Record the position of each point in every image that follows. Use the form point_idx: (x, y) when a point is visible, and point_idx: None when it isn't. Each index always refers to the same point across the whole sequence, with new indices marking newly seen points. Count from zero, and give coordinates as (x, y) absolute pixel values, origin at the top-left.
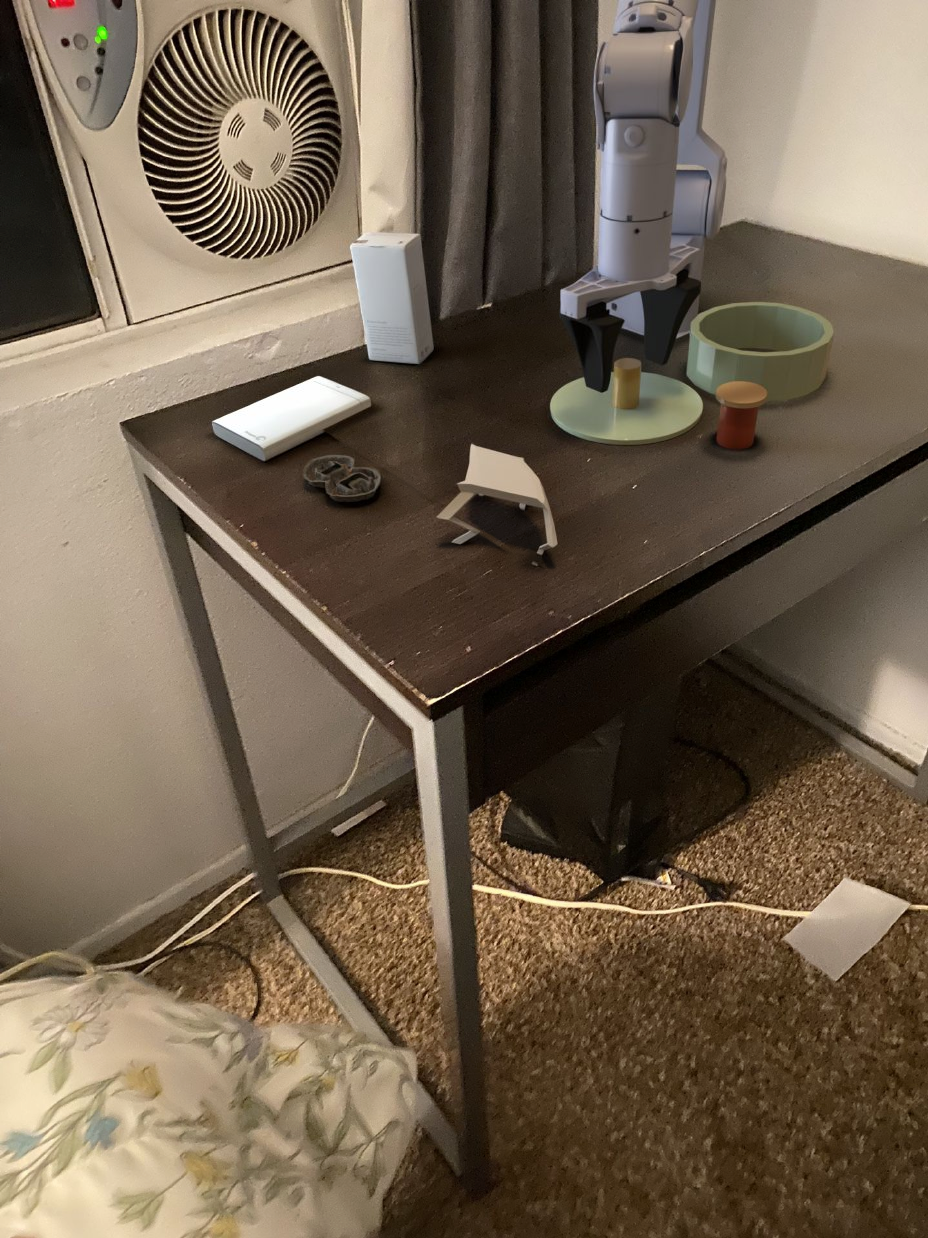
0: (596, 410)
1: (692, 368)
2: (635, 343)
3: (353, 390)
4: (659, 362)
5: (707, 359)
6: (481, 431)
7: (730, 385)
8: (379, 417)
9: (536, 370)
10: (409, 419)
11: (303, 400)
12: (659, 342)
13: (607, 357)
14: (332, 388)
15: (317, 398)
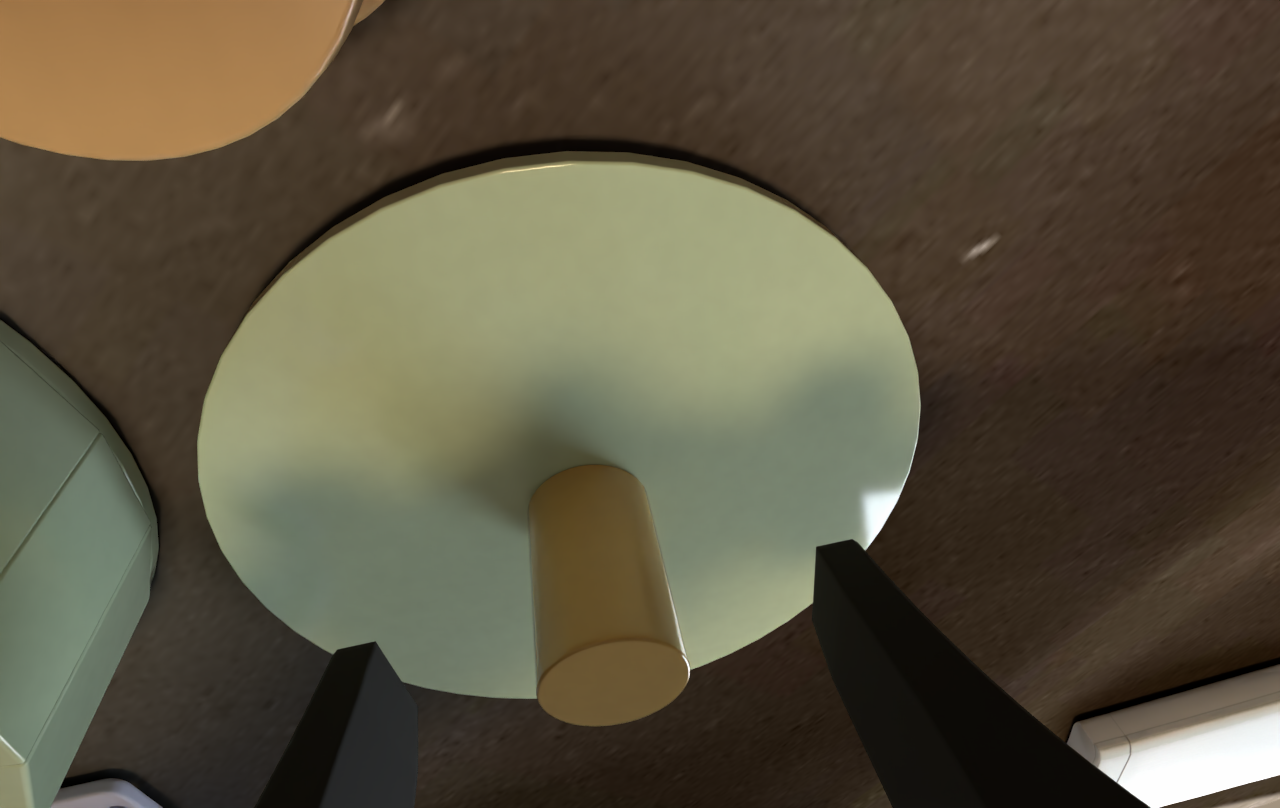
0: (729, 510)
1: (122, 614)
2: (224, 804)
3: None
4: (383, 662)
5: (33, 620)
6: (1016, 567)
7: (86, 76)
8: (1090, 693)
9: (623, 758)
10: (1062, 668)
11: (1190, 773)
12: (367, 788)
13: (1000, 722)
14: None
15: (1170, 773)
